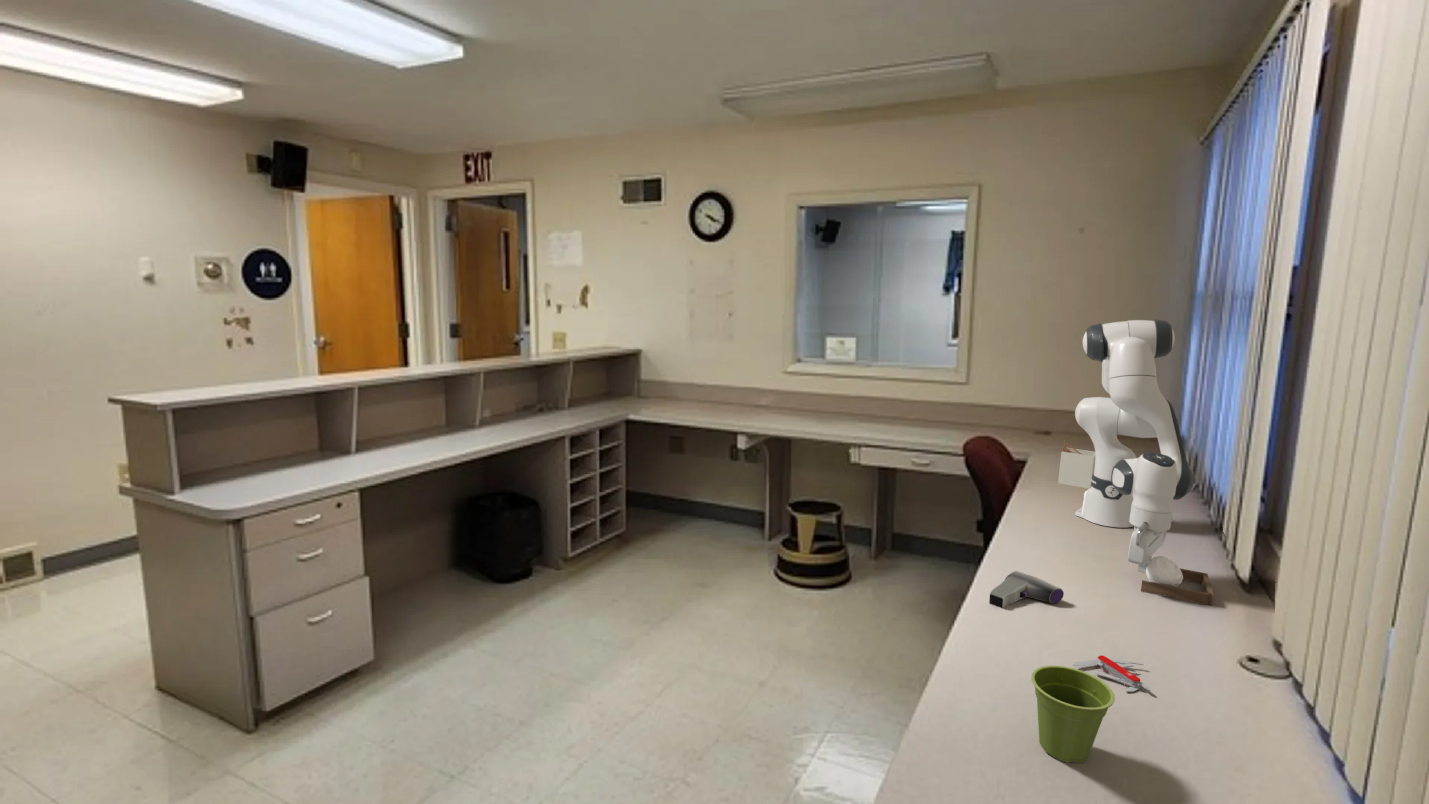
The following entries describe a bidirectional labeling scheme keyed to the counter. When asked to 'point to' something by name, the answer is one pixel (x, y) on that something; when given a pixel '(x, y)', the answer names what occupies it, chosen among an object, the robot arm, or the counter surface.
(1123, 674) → the swiss army knife
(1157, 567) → the white sculpted ball
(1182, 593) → the bay
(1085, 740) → the plant pot
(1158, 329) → the robot arm
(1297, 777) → the counter surface
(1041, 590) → the infrared thermometer
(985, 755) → the counter surface
